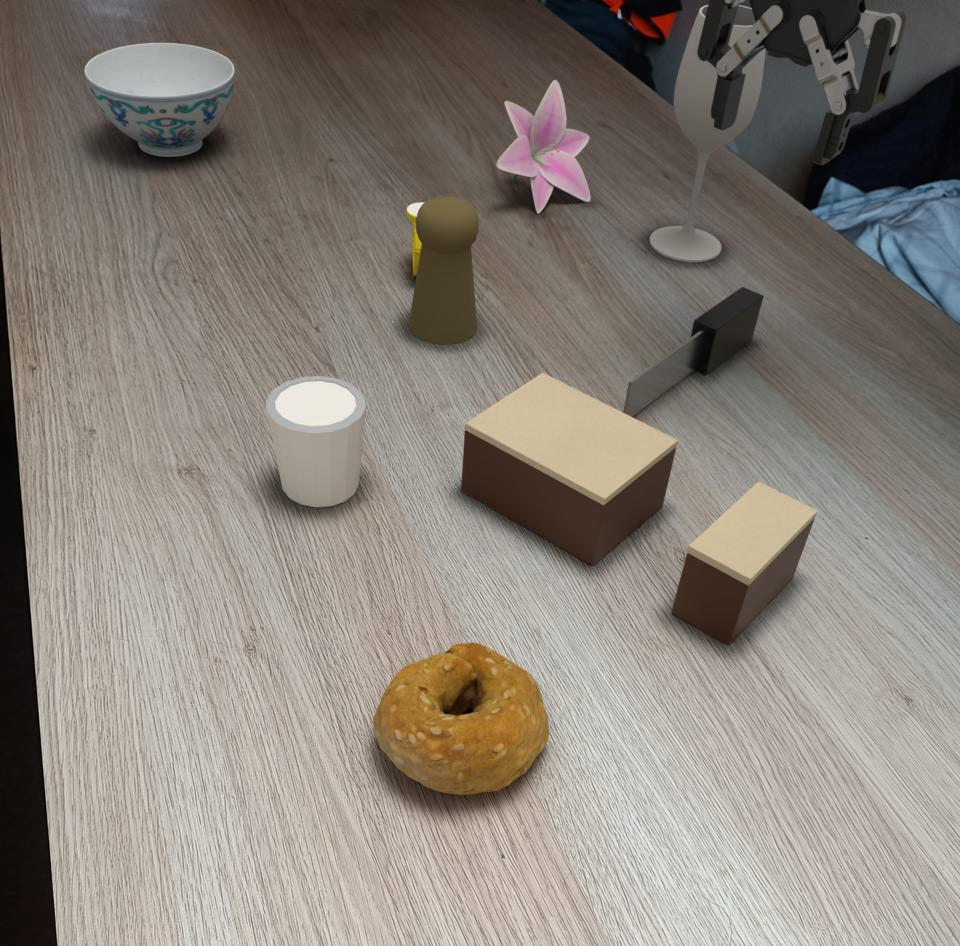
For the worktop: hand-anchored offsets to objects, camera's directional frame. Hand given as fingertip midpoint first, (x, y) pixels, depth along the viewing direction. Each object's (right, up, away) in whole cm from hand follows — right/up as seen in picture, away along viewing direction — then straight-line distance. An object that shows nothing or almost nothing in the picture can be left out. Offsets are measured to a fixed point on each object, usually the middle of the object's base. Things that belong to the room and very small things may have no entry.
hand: (771, 143), depth 84 cm
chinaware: (-56, +16, +36) cm, 68 cm away
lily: (-16, +9, +33) cm, 37 cm away
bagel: (-23, -43, -18) cm, 53 cm away
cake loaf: (-16, -27, -2) cm, 32 cm away
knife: (-4, -15, +10) cm, 19 cm away
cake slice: (-5, -35, -8) cm, 36 cm away
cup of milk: (-34, -26, -3) cm, 43 cm away
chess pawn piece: (-25, -10, +13) cm, 31 cm away
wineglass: (-2, +2, +27) cm, 27 cm away
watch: (-28, -3, +20) cm, 34 cm away
